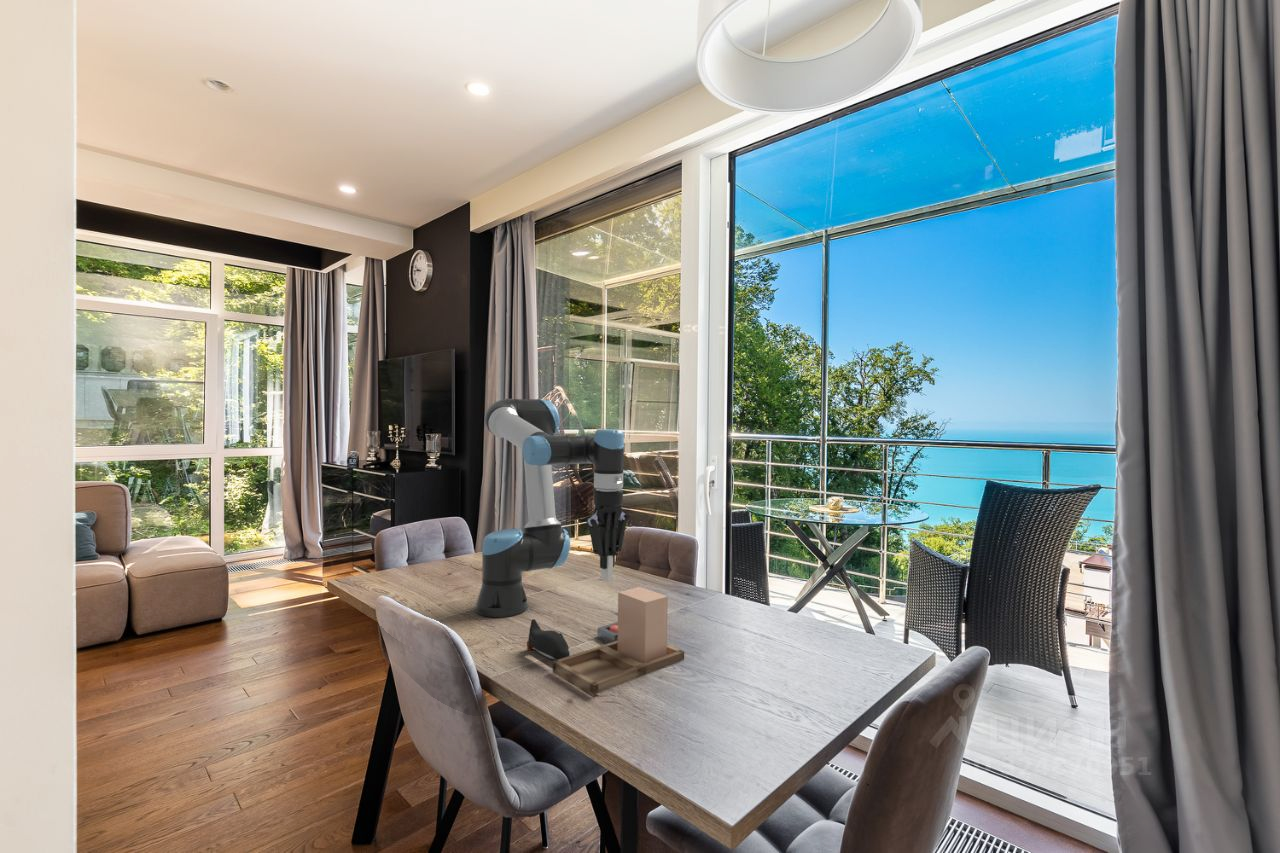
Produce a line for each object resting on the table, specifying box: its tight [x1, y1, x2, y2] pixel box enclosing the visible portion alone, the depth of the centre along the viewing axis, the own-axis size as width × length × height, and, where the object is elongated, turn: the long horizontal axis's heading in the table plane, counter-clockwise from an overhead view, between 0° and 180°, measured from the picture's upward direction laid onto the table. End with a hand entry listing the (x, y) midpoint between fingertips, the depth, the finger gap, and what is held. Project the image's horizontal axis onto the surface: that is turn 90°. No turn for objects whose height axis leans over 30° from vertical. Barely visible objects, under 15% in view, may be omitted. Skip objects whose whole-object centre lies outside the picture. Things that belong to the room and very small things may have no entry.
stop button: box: [610, 625, 618, 633], centre depth 151 cm, size 4×4×3 cm
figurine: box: [526, 618, 571, 660], centre depth 140 cm, size 7×10×15 cm
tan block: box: [617, 586, 669, 664], centre depth 139 cm, size 10×7×15 cm
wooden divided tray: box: [552, 641, 685, 698], centre depth 135 cm, size 15×27×3 cm, turn 132°
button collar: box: [597, 621, 618, 643], centre depth 151 cm, size 7×7×3 cm
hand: (607, 580), depth 149 cm, fingers closed
